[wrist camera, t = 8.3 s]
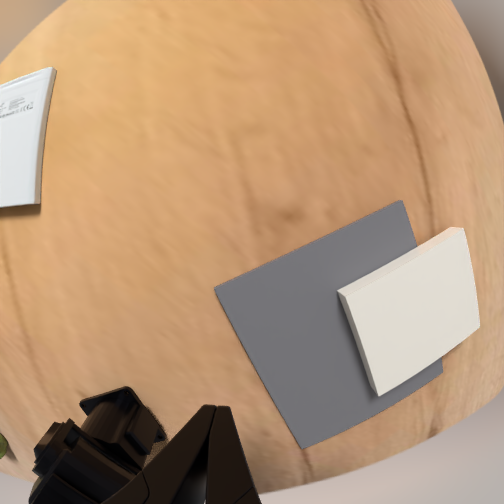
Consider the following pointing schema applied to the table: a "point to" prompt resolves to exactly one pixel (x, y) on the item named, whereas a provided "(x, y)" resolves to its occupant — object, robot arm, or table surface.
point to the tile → (413, 309)
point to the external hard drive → (23, 136)
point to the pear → (2, 446)
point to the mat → (319, 326)
